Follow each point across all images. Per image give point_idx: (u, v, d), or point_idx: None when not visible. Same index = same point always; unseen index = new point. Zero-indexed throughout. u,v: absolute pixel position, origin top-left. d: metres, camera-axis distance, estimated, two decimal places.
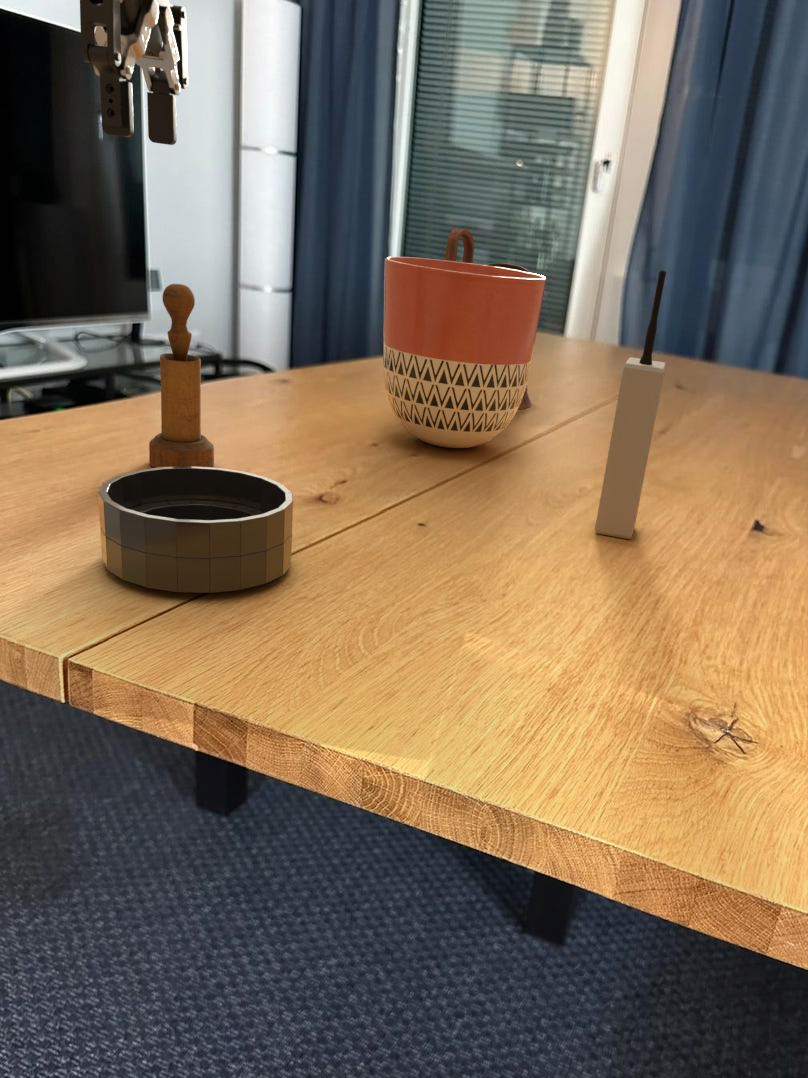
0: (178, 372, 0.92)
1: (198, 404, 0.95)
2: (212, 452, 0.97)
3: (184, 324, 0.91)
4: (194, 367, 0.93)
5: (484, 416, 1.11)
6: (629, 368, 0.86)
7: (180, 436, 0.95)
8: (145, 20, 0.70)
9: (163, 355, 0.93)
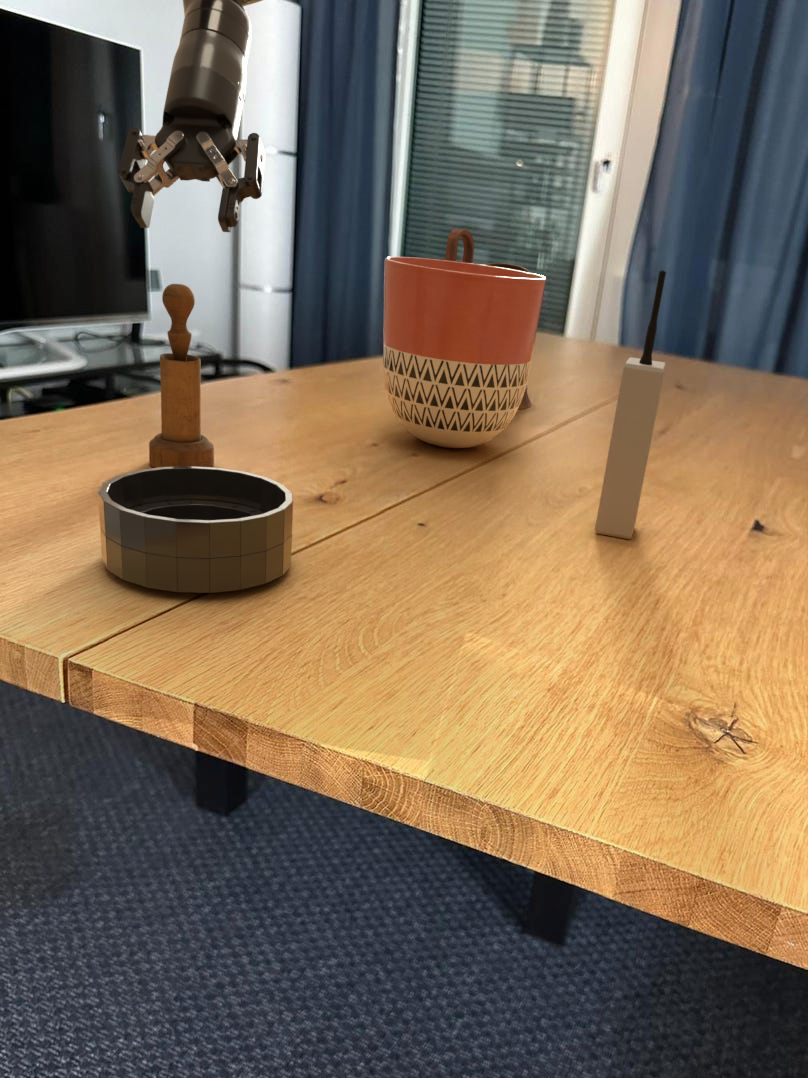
0: (178, 372, 0.92)
1: (198, 404, 0.95)
2: (212, 452, 0.97)
3: (184, 324, 0.91)
4: (194, 367, 0.93)
5: (484, 416, 1.11)
6: (629, 368, 0.86)
7: (180, 436, 0.95)
8: None
9: (163, 355, 0.93)
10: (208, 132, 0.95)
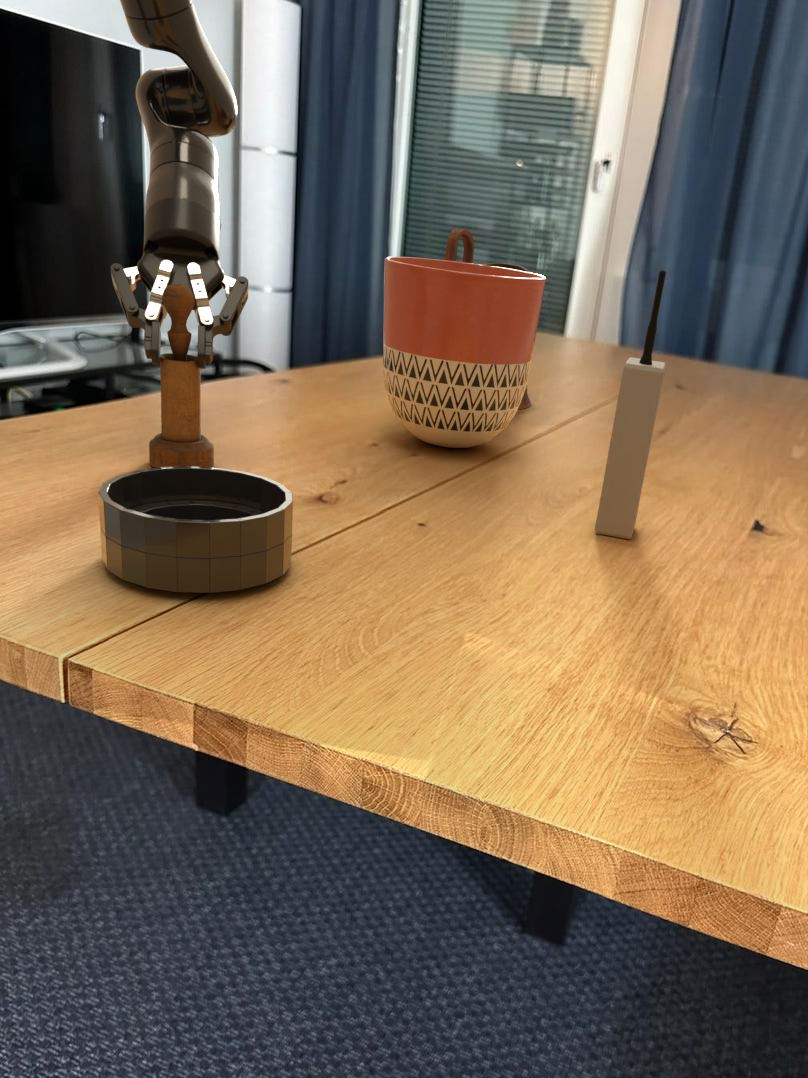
0: (178, 372, 0.92)
1: (198, 404, 0.95)
2: (212, 452, 0.97)
3: (184, 324, 0.91)
4: (194, 367, 0.93)
5: (484, 416, 1.11)
6: (629, 368, 0.86)
7: (180, 436, 0.95)
8: None
9: (163, 355, 0.93)
10: (195, 263, 0.94)
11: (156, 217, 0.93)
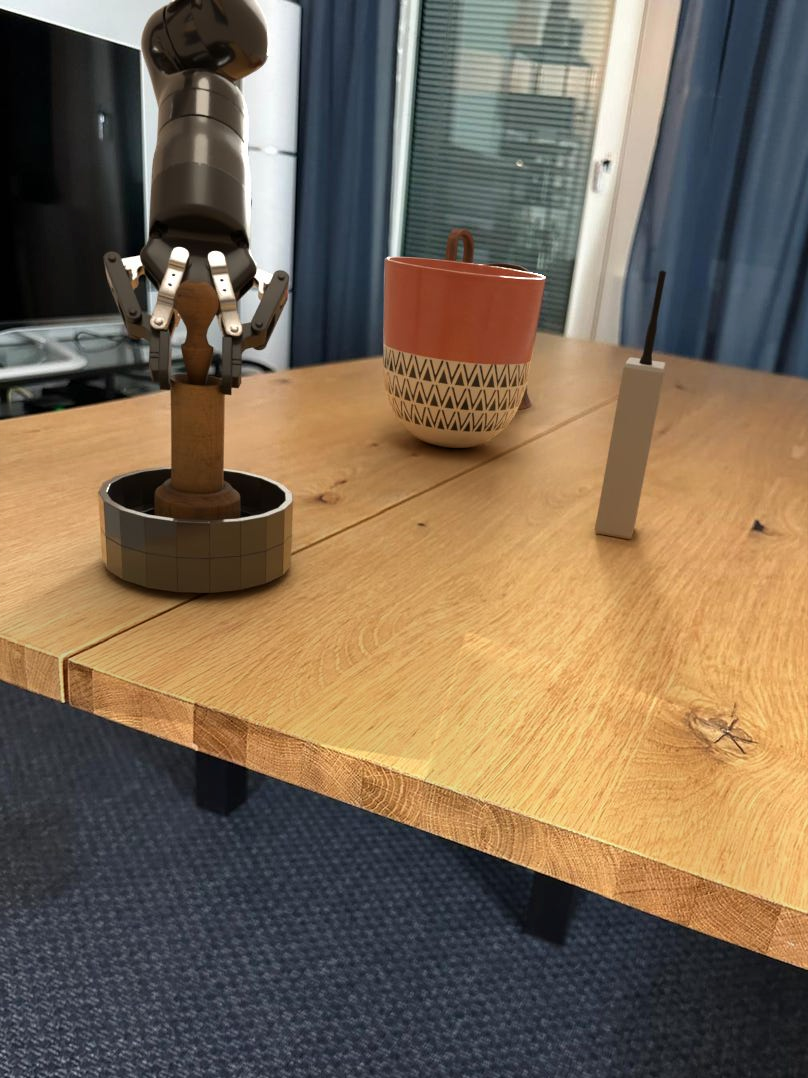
0: (195, 400, 0.68)
1: (221, 442, 0.70)
2: (238, 505, 0.73)
3: (204, 335, 0.67)
4: (217, 394, 0.68)
5: (484, 416, 1.11)
6: (629, 368, 0.86)
7: (197, 485, 0.70)
8: None
9: (174, 376, 0.69)
10: (219, 251, 0.70)
11: (166, 189, 0.68)
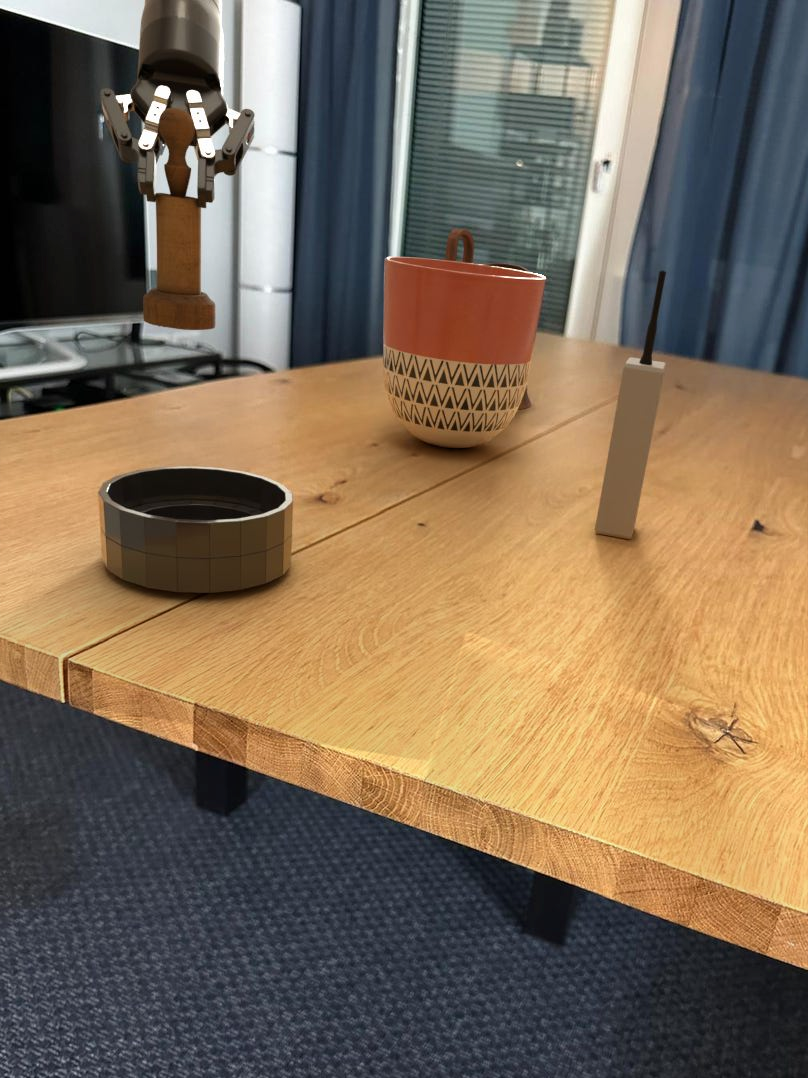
0: (176, 210, 0.82)
1: (198, 251, 0.85)
2: (213, 309, 0.87)
3: (183, 156, 0.82)
4: (194, 206, 0.83)
5: (484, 416, 1.11)
6: (629, 368, 0.86)
7: (178, 287, 0.85)
8: None
9: (159, 194, 0.83)
10: None
11: (151, 38, 0.83)
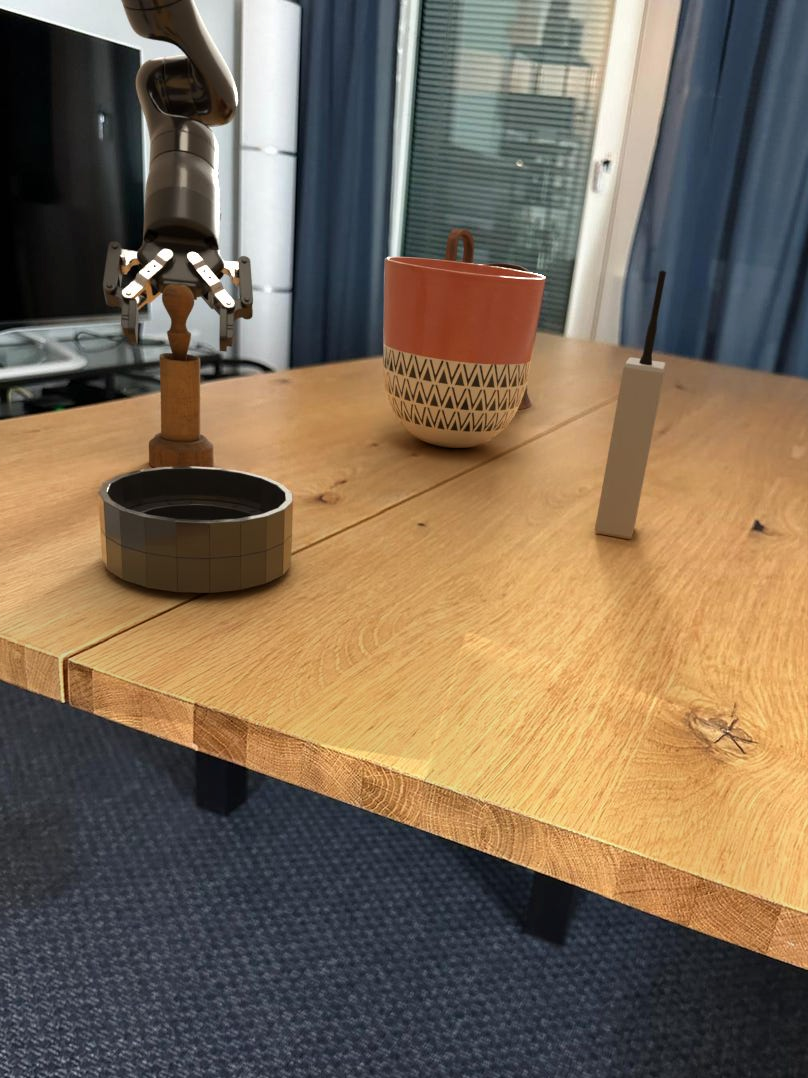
0: (178, 372, 0.92)
1: (198, 404, 0.95)
2: (212, 451, 0.97)
3: (184, 324, 0.92)
4: (194, 367, 0.93)
5: (484, 416, 1.11)
6: (629, 368, 0.86)
7: (180, 435, 0.95)
8: None
9: (162, 355, 0.93)
10: (195, 252, 0.94)
11: (156, 206, 0.93)
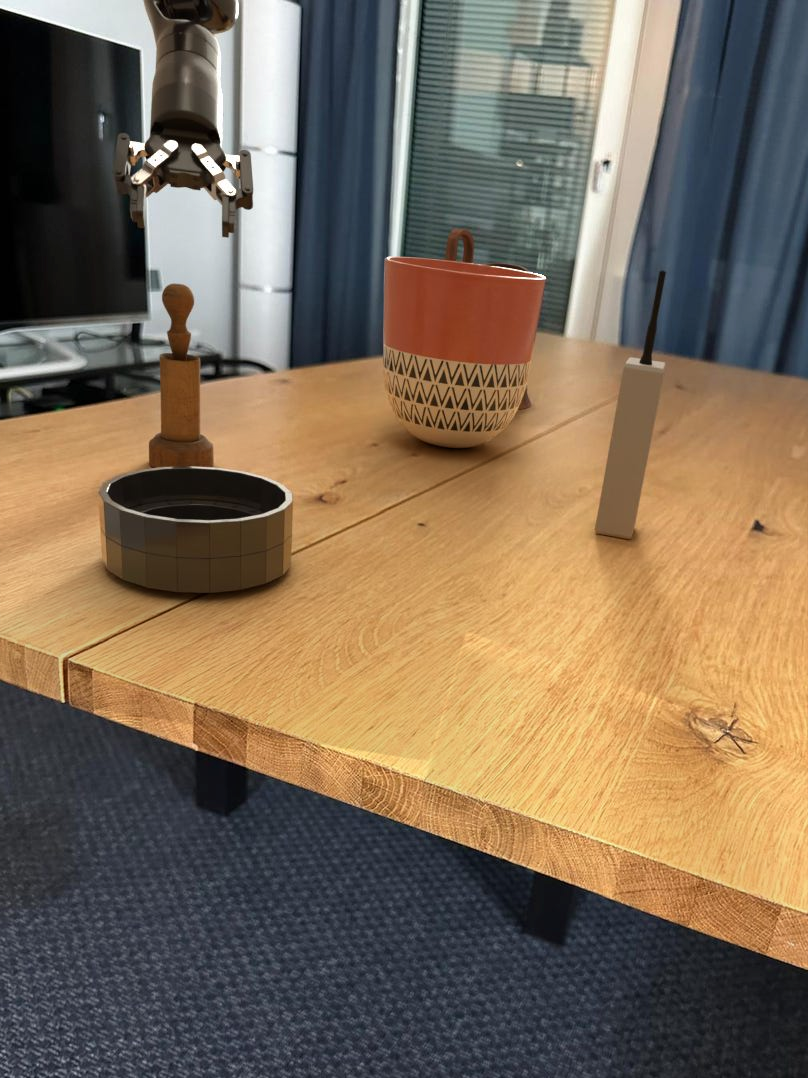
0: (178, 372, 0.92)
1: (198, 404, 0.95)
2: (212, 451, 0.97)
3: (184, 324, 0.92)
4: (194, 367, 0.93)
5: (484, 416, 1.11)
6: (629, 368, 0.86)
7: (180, 435, 0.95)
8: None
9: (162, 355, 0.93)
10: None
11: (162, 100, 0.99)
